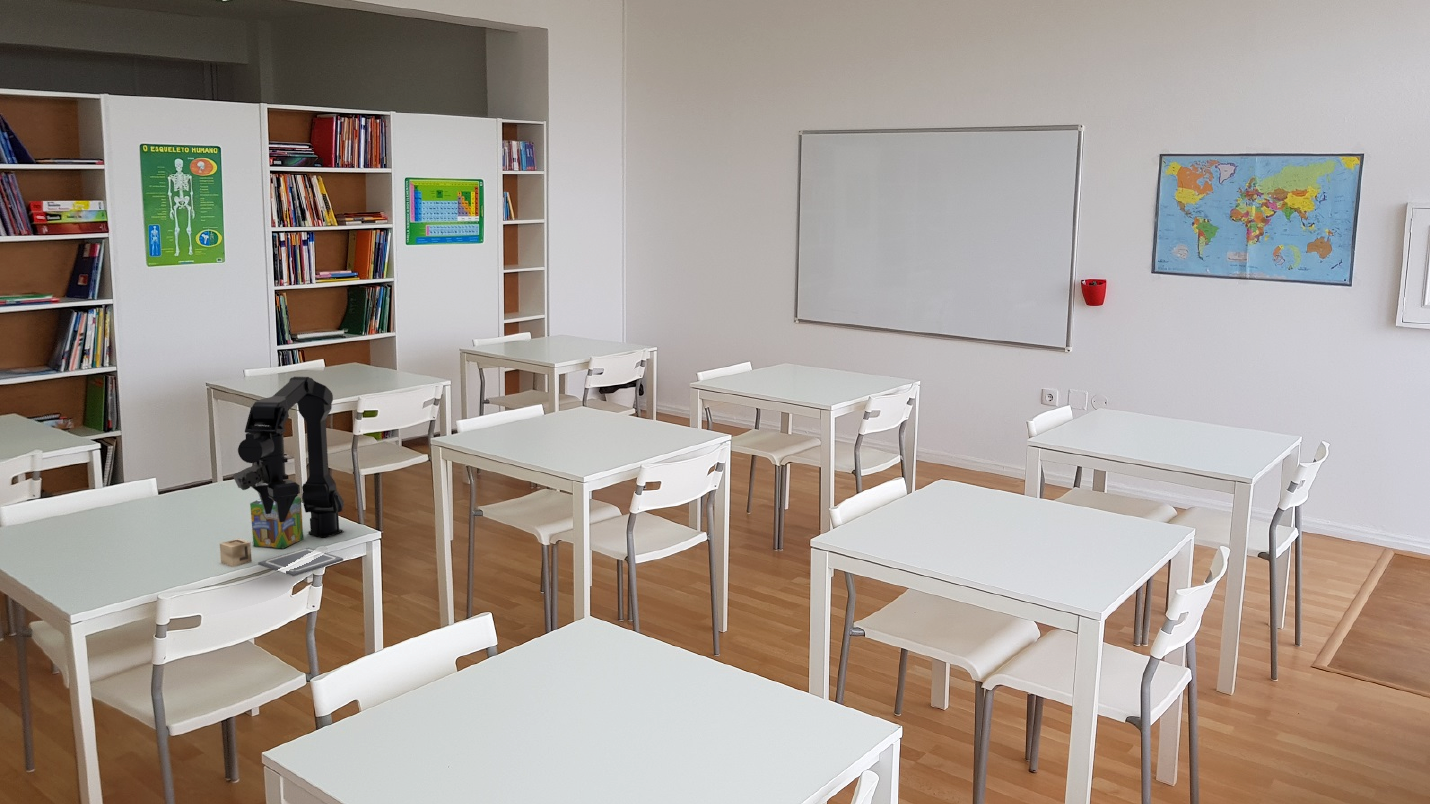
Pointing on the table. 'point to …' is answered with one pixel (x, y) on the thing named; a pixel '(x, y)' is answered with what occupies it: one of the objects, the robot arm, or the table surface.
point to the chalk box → (276, 525)
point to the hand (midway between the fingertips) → (275, 517)
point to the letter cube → (235, 552)
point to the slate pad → (293, 556)
